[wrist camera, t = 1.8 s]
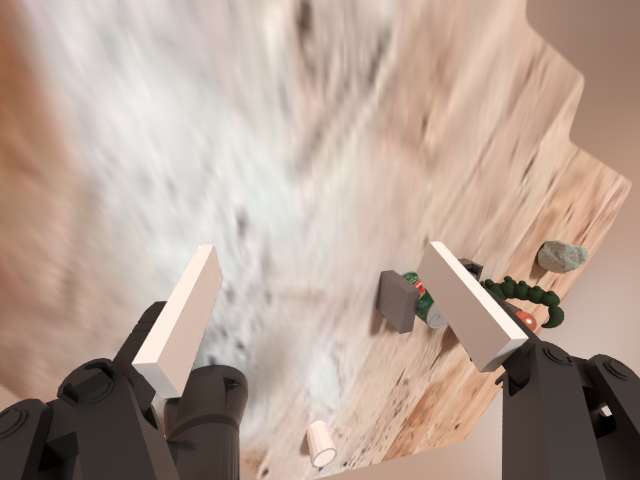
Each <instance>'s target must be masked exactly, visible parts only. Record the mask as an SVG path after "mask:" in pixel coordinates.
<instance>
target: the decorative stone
mask: <svg viewBox="0 0 640 480" xmlns="http://www.w3.org/2000/svg"><path fill="white" fill-rule="evenodd" d="M587 258H588V250H587V248H584V247H581V246H576V245H571V244H569V243H565V242H562V241H547V242H545V244H544V246H543V248H542V249H541V250H539V252H538V263H539V265H540V266H541V267H542V268H544V269H547V270H549V271H551V272H555V273H567V272H569V271H571V270H574V269H577V268H579V267H580V266H581V265H582V264H583V263H584V262H585V261H586V259H587Z"/></svg>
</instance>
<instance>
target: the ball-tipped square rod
mask: <svg viewBox="0 0 640 480" xmlns="http://www.w3.org/2000/svg"><path fill="white" fill-rule="evenodd" d="M468 272H469V271H468ZM469 273H470V274H471V275H472V276H473V277H474V279H475V280H476V277H477V275H475V274H473V273H471V272H469ZM503 301H504V300H503ZM504 302H505V303H506V306H508V307H509V308H510V309H511V310H512V311H513V313H515V314H516V315H517V316H518V317H519V318H520V319H521V320H522V321H523V322H524V323H525V324H526V326H527V327H528V328H529V329H530V330H531V331H534V330H535V329H536V326H537V323H536V320H535V318H534V317H533V316H532V315H530V314H529V313H526V312H523V311H522V310H521V309H519V308H517V307H516V306H514V305H512V304H510V303H508V302H506V301H504Z"/></svg>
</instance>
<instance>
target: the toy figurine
mask: <svg viewBox="0 0 640 480" xmlns="http://www.w3.org/2000/svg"><path fill="white" fill-rule="evenodd" d="M504 280H505V282H502V283H501V284H499V283H494V282H493V281H492V280H491V279H487V280H485V285H486V286H487V287H486V288H488V289H489V290H491V291H492V292H493V293H495V294H496V295H498V296H499V297H500V298H501V299H502V300H504V301H505V300H506V299H507V298H509V299H514V298H517V299H520V300H529V301H530V302H532V303H535V304H543V305H545V306H548V307H549V308H548V312H549V315H550V318H549V321H548V322H547V323H545V324H542V325H541V326H542V327H543V328H554V327H557V326H559V325H560V324H561V323H562V322H563V320H564V312H563V310H562V309H561V308H560V307H558V306H557V305H558V304H559V303H560V299H559V297H558V296H557V295H556V294H555V293H554V292H553V291H548V292H545V291H544V290H543V289H541V287H539V286H534V287H533V288H531V287H530V286H529V285H527V284H526V282H525V281H519V284H517V283H516V281H515V280H512V278H511V277H509V276H506V277H504ZM470 361H471V362H472V360H471V358H470Z"/></svg>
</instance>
